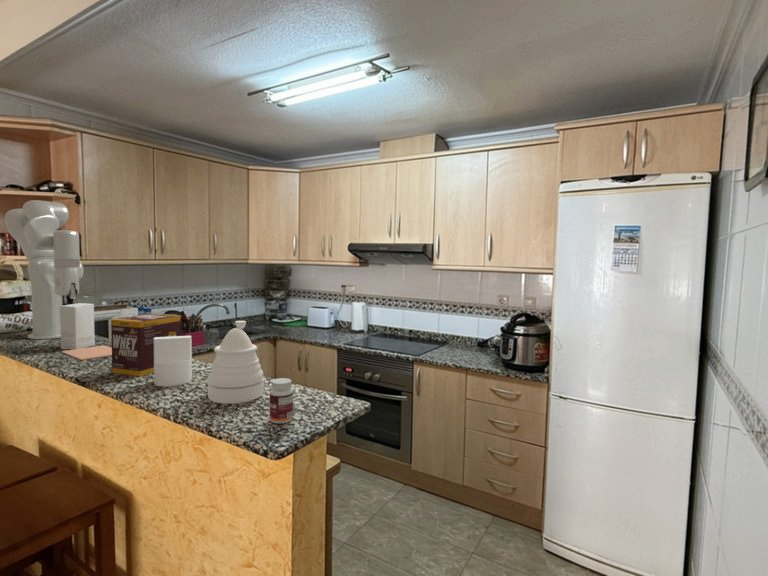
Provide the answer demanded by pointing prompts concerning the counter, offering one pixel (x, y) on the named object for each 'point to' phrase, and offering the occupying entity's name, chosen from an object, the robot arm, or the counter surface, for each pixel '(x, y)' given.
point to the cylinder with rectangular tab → (172, 360)
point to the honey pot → (235, 369)
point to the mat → (90, 352)
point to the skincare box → (77, 326)
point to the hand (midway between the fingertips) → (68, 313)
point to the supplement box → (139, 341)
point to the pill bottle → (281, 401)
